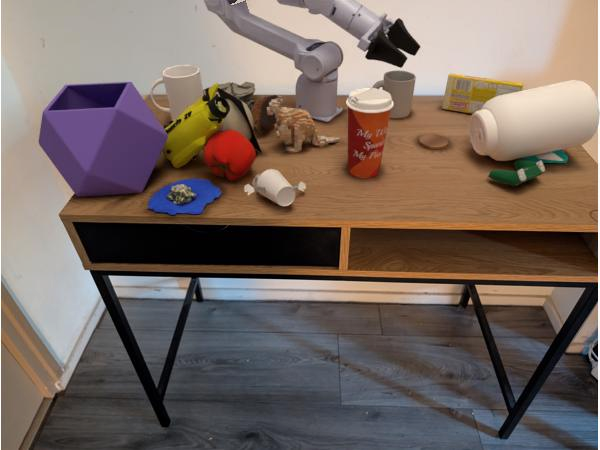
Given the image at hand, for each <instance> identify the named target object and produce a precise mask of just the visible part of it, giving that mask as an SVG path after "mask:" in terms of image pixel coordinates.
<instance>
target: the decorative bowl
mask: <svg viewBox="0 0 600 450" xmlns="http://www.w3.org/2000/svg"><path fill="white" fill-rule="evenodd" d="M212 86H213V85H211V86H208V87H207V88H209V89H210V88H211V87H212ZM218 88H220V89H222V90H224V91H225V92H227V93H229V94H230V95H232V96H234V97H235V98H237V99H239V100H241V101H243V102H244V103H245V102H249V101H250V99H251V98H252V97H253V96H254V94H255V92H256V85H255V83H254V82H251V81H245V82H243V83H241V84H238V83H236V82H234V81H233V82H229V81H228V82H225V83H218ZM205 89H206V88H203V94H205ZM216 94H218V96H220V95H219V93H218V90H217V91H216ZM216 94H215V95H216ZM214 97H215V96H214ZM215 101H216V100H215Z"/></svg>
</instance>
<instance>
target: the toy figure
mask: <svg viewBox="0 0 600 450" xmlns="http://www.w3.org/2000/svg"><path fill="white" fill-rule="evenodd" d="M252 185H253V186H252ZM252 185H250V184H249V183H247V184H245V185H244V187H243V192H244V193H247V196H250V195H252V194H253V193H259V194H260V195H261V196H263V197H265V198H266V199H268V200H270V201H271V204H273V205H275V204H277V205H278V206H281V207H289V206H290V205H291V204H292V203H294V202H295V200H296V196H297V192H296V191H301V192H302V193H304V192H305V190H306V189H307V185H306V183H305V182H304V181H300V182H299V183H298V184H291V183H290V182H289V181H288V180H287V179H286V178H285V176H284V175H283V174H282V172H281V171H279V170H278V169H275V168H269V169H268V168H267V169H266V170H264V171H262V172H261V173H257V174H256V175H255V177H254V178H253V180H252Z"/></svg>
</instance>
